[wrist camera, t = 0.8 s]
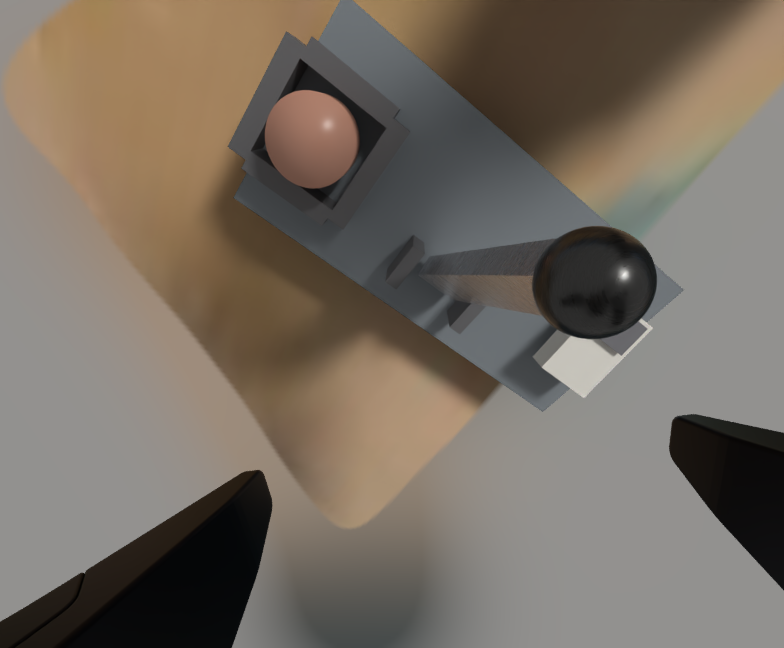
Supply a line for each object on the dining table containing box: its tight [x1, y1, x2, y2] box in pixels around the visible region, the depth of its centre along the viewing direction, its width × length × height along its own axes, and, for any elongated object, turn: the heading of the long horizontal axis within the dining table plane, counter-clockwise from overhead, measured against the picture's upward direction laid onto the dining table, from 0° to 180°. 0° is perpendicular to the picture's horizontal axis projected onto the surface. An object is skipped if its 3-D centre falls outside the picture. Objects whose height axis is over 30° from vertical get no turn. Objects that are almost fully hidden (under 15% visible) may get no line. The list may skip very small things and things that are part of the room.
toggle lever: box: [418, 226, 657, 339], centre depth 14 cm, size 2×2×12 cm
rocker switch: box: [533, 319, 653, 398], centre depth 20 cm, size 4×3×2 cm, turn 144°
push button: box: [265, 90, 360, 188], centre depth 16 cm, size 3×3×2 cm
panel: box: [228, 0, 683, 411], centre depth 20 cm, size 9×20×5 cm, turn 54°
